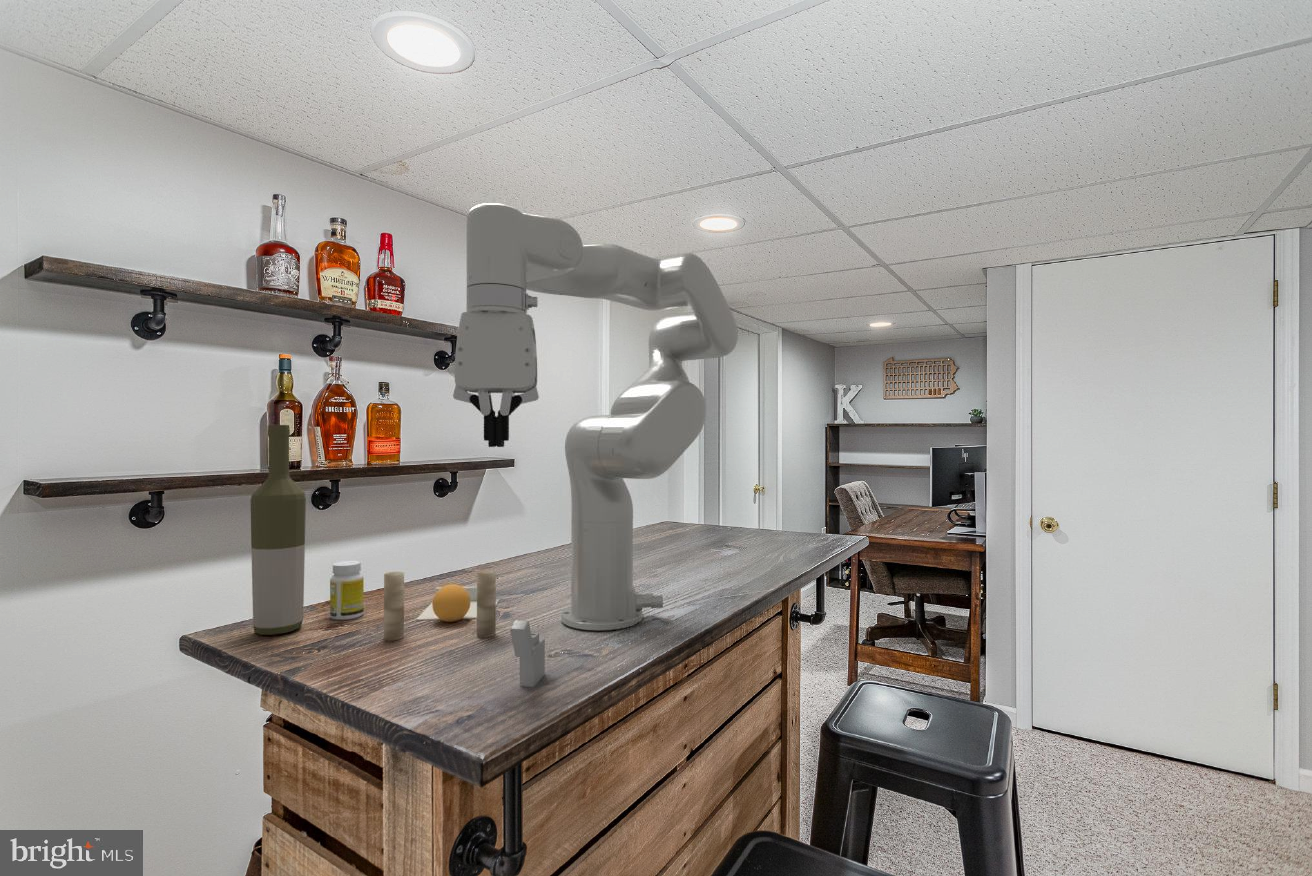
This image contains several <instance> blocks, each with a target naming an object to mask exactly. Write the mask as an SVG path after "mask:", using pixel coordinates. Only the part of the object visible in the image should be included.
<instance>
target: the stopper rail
mask: <svg viewBox="0 0 1312 876" xmlns="http://www.w3.org/2000/svg"><path fill="white" fill-rule="evenodd" d="M442 587H443V586H437V587H435V589H434V595H435V594H436V593H437V591H438V590H439V589H441V588H442ZM462 587H463V588H465V589H466V590H467V592H468V593H469V596H470V600H471V601H477V585H473V586H471V585H470V586H469V585H468V586H462Z"/></svg>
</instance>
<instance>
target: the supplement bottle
mask: <svg viewBox="0 0 1312 876" xmlns="http://www.w3.org/2000/svg"><path fill="white" fill-rule="evenodd" d="M361 564H362V563H361V561H359V560H344V561H338V562H335V563H332V574H333V575H332V576H331V577H330V578H329V579H330V580H329V596H330V597H329V600H330V601H329V602H330V603H329V605H330V606H329V608H330V609H329V613H330V615H329V616H330V619H332V620H336V621H344V620H345V621H346V620H352V619H357V618H359V617H362V616H363V615H364V610H365V608H364V606H365V604H364V587H365V585H364V583H365V582H364V575H363V573H361V571H362V567H361V566H362V565H361Z"/></svg>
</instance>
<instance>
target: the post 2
mask: <svg viewBox="0 0 1312 876" xmlns="http://www.w3.org/2000/svg"><path fill="white" fill-rule="evenodd" d="M496 573H497V572H496V570H491V569H484V570H483V569H482V570H479V571H477V572H476V586H477V619H476V637H477V638H482V639H485V638H486V639H489V638H492V637H493V638H494V637H495V636H496V634H497V633H496V629H497V628H496V626H497V625H496V623H497V621H496V620H497V619H496V618H497V617H496V615H497V614H496V609H497V607H496V606H497V605H496V599H497V582H496V581H497V578H496V575H497V574H496Z"/></svg>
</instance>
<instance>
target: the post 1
mask: <svg viewBox="0 0 1312 876" xmlns="http://www.w3.org/2000/svg"><path fill="white" fill-rule="evenodd" d="M403 638H405V572H402V571H392V572H391V571H390V572H386V573H384V575H383V640H385V641H387V642H388V641H389V642H390V641H391V642H392V641H399V640H403Z"/></svg>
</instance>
